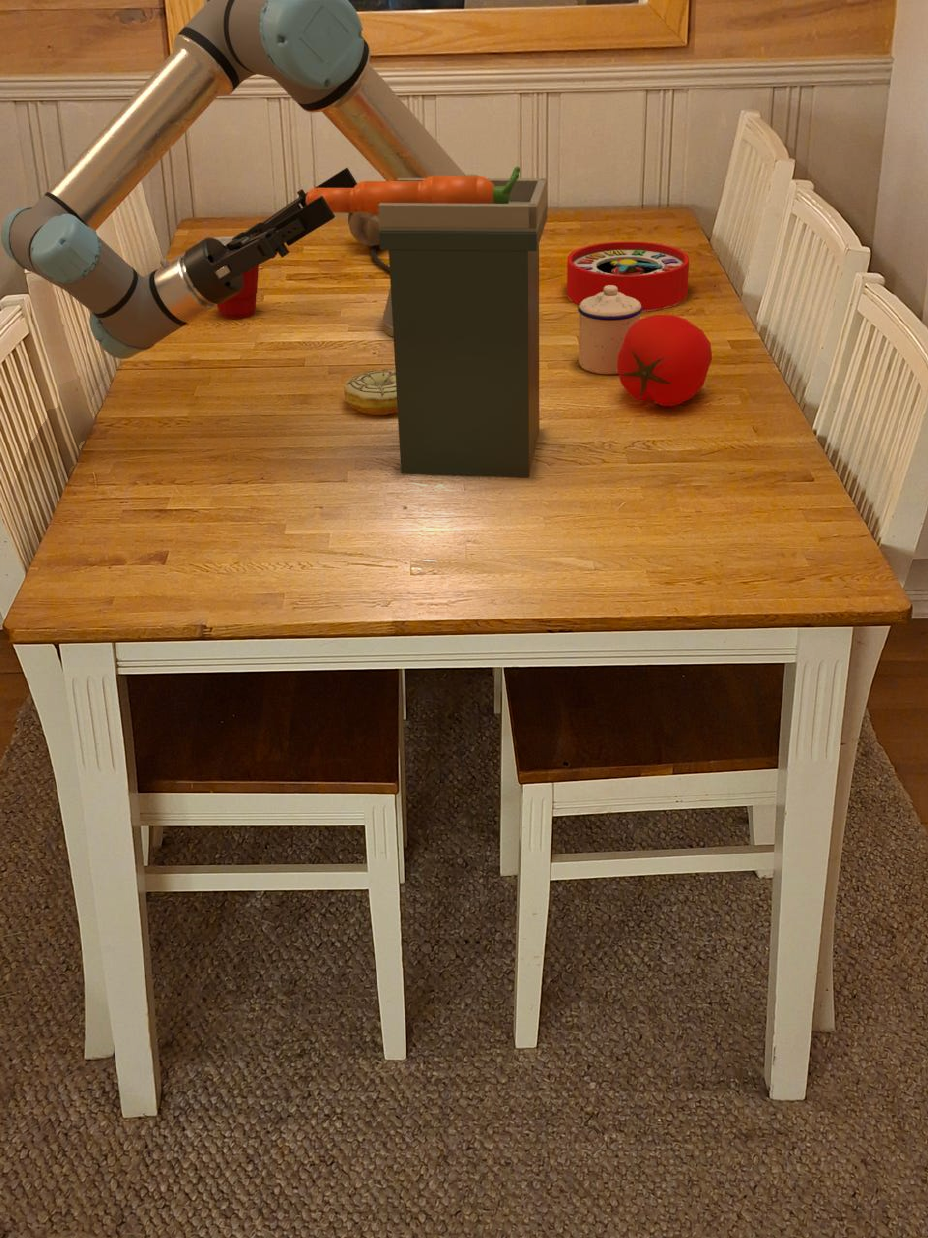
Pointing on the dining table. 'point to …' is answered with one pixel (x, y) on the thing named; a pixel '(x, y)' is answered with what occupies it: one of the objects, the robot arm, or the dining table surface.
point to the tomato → (664, 360)
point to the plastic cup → (241, 294)
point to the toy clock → (630, 273)
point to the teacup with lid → (605, 328)
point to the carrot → (415, 193)
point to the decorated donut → (373, 392)
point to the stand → (467, 330)
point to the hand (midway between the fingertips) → (341, 191)
